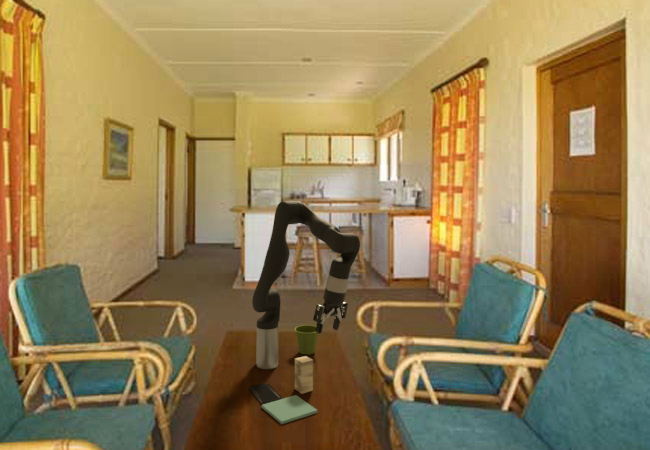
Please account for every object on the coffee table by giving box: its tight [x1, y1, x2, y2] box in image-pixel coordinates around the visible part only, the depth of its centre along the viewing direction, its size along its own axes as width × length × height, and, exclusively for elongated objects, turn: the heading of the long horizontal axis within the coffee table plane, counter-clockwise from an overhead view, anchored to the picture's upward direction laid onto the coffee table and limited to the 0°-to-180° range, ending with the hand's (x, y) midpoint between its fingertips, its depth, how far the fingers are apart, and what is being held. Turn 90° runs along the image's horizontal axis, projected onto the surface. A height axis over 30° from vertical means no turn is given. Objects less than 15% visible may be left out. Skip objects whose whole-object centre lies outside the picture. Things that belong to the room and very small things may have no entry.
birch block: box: [294, 355, 314, 395], centre depth 179 cm, size 5×5×12 cm
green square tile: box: [261, 394, 318, 425], centre depth 163 cm, size 14×14×1 cm
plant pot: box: [294, 324, 319, 356], centre depth 219 cm, size 12×12×11 cm
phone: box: [248, 382, 282, 405], centre depth 176 cm, size 8×1×15 cm
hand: (326, 330), depth 169 cm, fingers open, 8 cm apart
